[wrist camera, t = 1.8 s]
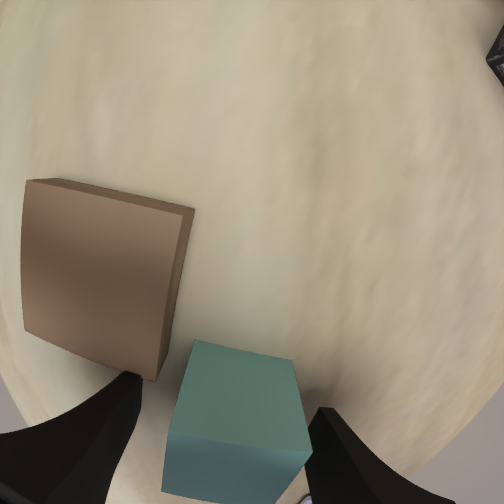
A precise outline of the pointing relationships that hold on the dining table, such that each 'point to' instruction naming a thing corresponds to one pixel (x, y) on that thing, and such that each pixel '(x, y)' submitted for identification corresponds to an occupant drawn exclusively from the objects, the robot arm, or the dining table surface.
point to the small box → (497, 56)
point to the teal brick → (235, 428)
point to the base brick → (102, 272)
